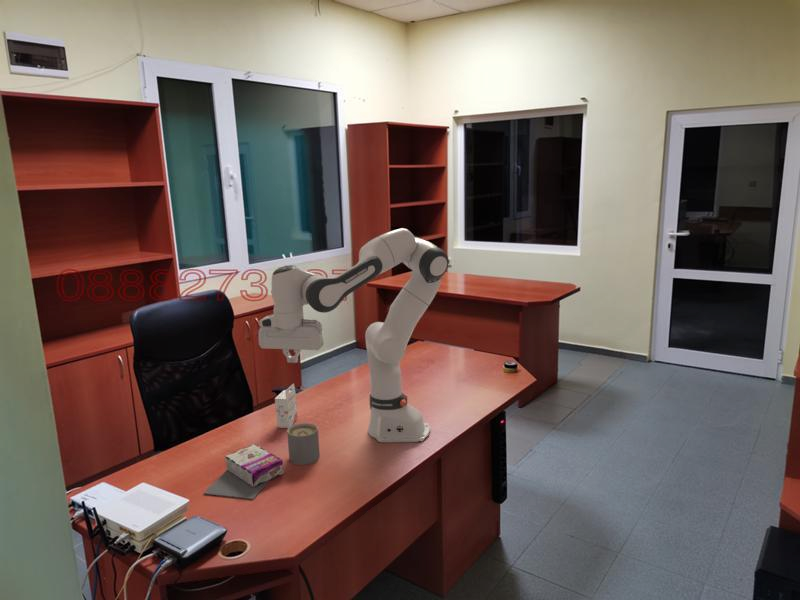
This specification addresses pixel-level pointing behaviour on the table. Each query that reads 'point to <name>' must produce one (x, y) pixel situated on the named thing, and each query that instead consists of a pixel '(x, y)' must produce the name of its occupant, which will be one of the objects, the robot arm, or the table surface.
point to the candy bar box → (254, 465)
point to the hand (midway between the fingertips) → (292, 362)
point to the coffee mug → (303, 443)
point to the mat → (234, 487)
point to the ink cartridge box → (286, 408)
